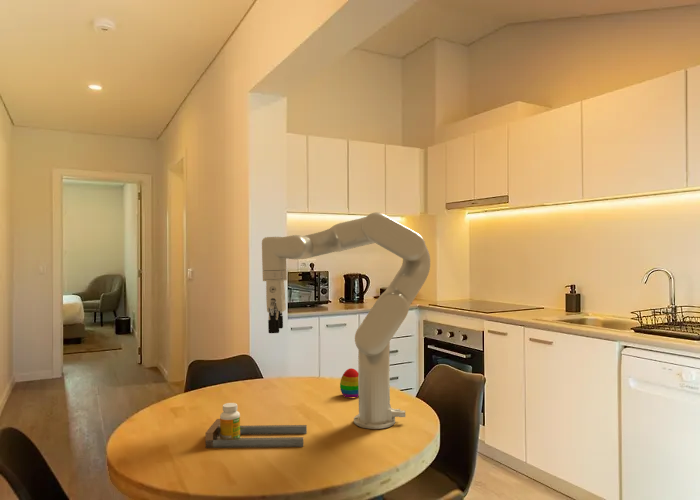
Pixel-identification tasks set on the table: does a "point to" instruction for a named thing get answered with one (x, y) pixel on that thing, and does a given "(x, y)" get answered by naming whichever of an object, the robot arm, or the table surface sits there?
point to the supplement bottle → (230, 421)
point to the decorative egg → (350, 383)
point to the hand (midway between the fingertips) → (276, 330)
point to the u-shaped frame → (217, 442)
